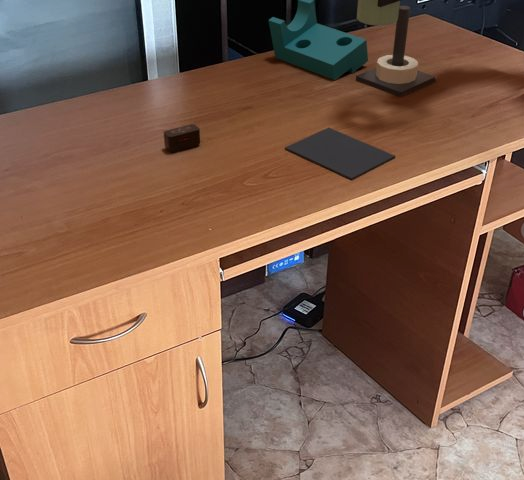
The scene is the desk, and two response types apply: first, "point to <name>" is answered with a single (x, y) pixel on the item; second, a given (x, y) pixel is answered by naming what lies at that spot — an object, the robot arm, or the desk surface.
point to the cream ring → (396, 70)
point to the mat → (340, 153)
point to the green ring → (377, 13)
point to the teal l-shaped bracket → (316, 44)
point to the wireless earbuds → (182, 138)
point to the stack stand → (398, 62)
